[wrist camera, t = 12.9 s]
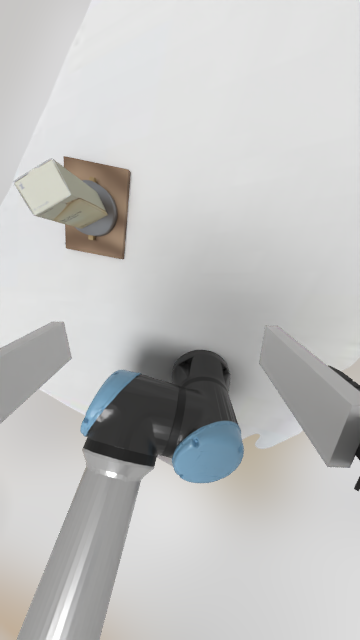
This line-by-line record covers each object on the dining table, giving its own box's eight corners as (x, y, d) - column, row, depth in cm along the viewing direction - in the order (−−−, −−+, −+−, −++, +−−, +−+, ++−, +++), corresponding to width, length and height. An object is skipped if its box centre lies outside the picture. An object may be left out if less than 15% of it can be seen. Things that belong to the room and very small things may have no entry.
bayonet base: (123, 258, 41) (117, 259, 38) (69, 248, 41) (58, 247, 37) (130, 172, 36) (124, 163, 32) (67, 159, 35) (54, 149, 32)
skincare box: (81, 229, 36) (32, 218, 25) (68, 205, 35) (10, 181, 23) (109, 214, 35) (72, 196, 24) (97, 188, 34) (50, 156, 22)
